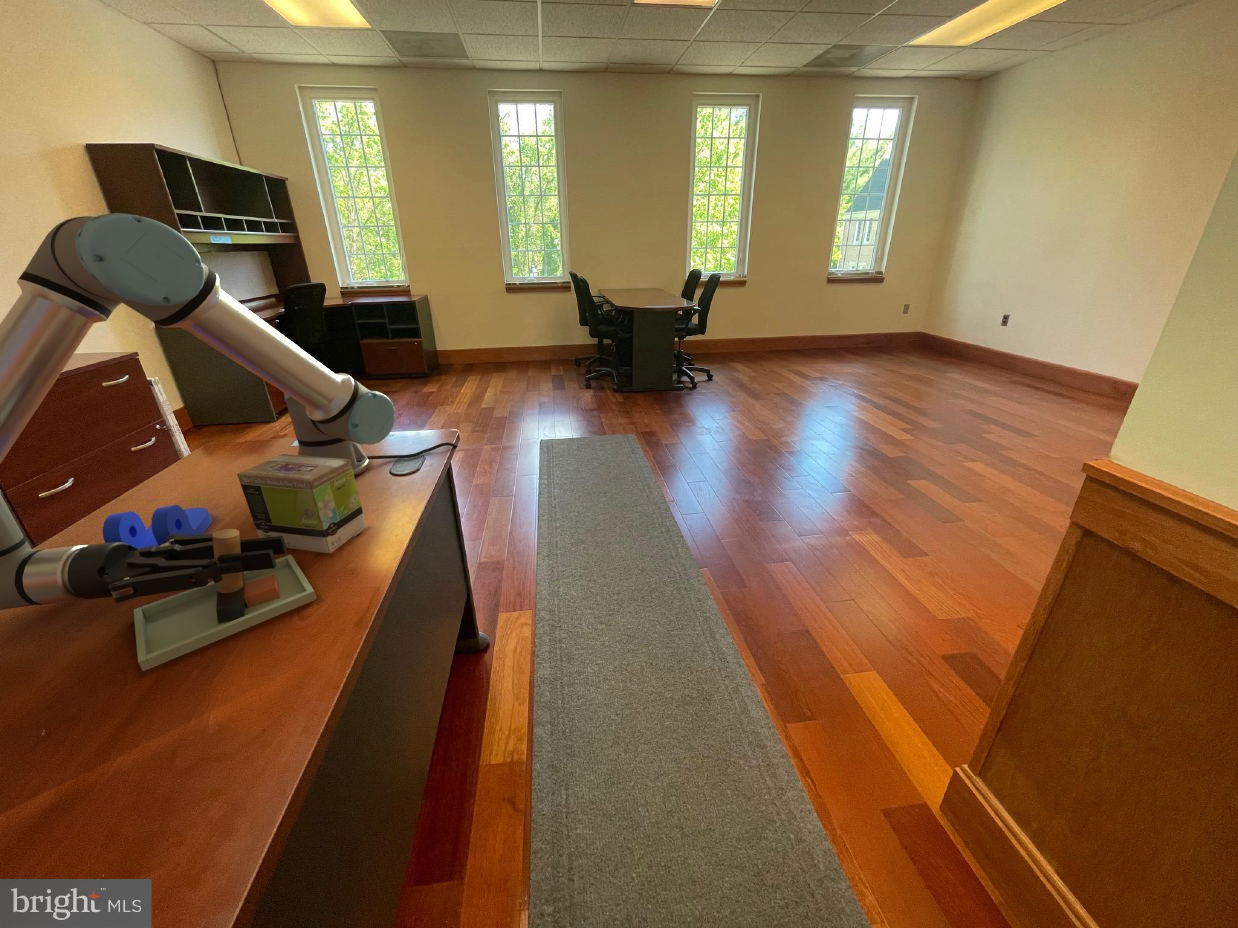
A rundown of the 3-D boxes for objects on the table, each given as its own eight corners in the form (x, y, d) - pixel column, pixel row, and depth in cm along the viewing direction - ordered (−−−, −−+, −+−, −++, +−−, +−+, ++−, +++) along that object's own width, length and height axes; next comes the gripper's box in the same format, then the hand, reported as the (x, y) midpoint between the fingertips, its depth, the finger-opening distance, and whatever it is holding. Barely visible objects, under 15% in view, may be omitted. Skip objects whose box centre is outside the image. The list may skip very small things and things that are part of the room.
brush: (244, 582, 76) (239, 517, 72) (244, 618, 69) (239, 547, 65) (219, 586, 74) (213, 519, 71) (217, 623, 67) (210, 551, 63)
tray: (294, 564, 82) (290, 554, 81) (317, 601, 73) (314, 590, 72) (139, 620, 69) (133, 609, 68) (144, 674, 60) (137, 662, 59)
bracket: (182, 561, 82) (162, 516, 78) (120, 572, 79) (96, 526, 75) (218, 513, 97) (202, 473, 94) (167, 521, 94) (149, 480, 91)
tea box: (368, 527, 93) (352, 458, 87) (330, 556, 84) (308, 481, 78) (303, 519, 95) (282, 451, 90) (259, 546, 86) (233, 472, 81)
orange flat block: (278, 584, 76) (274, 574, 75) (280, 597, 73) (276, 587, 72) (247, 594, 73) (243, 583, 73) (247, 608, 70) (243, 597, 70)
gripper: (139, 560, 74) (305, 543, 79) (51, 634, 60) (261, 607, 65) (119, 519, 71) (293, 503, 76) (22, 586, 57) (244, 561, 62)
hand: (278, 551), depth 70 cm, fingers closed on brush, 3 cm apart
